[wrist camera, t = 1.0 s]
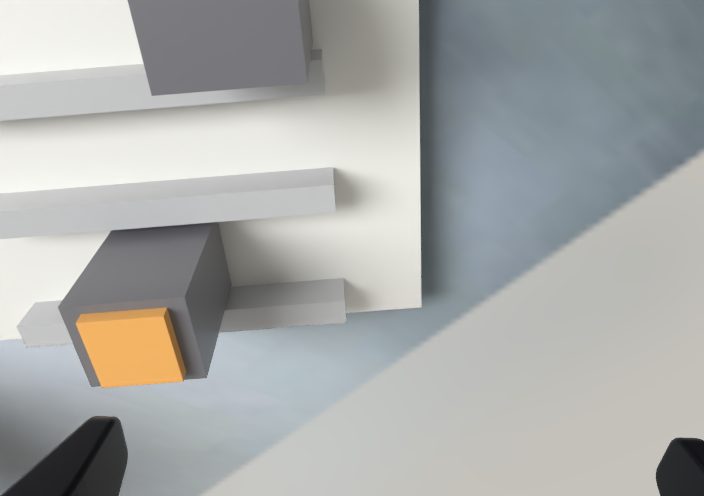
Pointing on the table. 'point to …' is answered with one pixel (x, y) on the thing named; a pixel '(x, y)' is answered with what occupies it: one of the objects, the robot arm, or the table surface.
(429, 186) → the table surface
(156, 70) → the block
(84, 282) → the block
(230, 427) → the table surface
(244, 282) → the breaker board
